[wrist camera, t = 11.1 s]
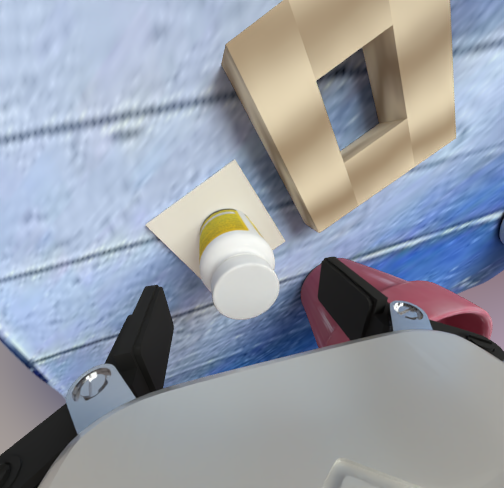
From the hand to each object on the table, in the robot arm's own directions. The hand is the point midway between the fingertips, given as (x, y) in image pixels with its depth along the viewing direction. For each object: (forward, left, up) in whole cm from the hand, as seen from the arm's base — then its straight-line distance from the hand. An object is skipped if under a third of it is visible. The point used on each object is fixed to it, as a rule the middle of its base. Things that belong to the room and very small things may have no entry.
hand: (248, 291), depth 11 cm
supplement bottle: (0, 0, -10) cm, 10 cm away
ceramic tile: (0, 0, -10) cm, 10 cm away
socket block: (+3, -16, -10) cm, 19 cm away
